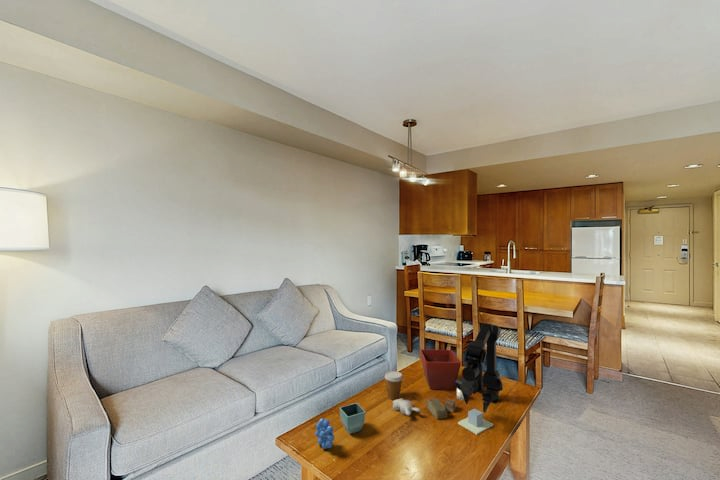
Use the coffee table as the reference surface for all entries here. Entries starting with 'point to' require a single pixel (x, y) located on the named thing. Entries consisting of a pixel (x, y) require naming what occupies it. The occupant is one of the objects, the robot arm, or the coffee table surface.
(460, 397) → the ivory rounded cylinder
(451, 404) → the walnut cube
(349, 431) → the flower pot
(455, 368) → the plant pot
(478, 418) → the slate-blue block
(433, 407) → the stone block
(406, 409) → the bunny figurine
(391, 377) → the disposable coffee cup
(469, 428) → the felt mat
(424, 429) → the coffee table surface
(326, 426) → the grapes
